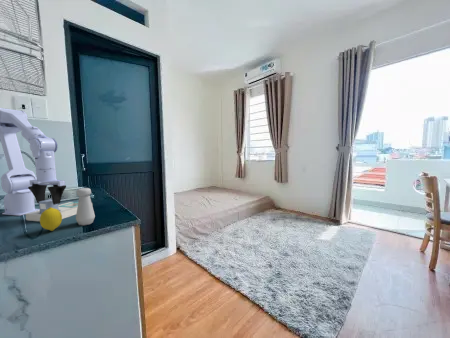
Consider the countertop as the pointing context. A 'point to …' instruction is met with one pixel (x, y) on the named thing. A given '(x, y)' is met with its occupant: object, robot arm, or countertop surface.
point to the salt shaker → (84, 207)
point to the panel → (64, 209)
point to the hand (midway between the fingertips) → (48, 203)
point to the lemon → (50, 219)
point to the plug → (47, 205)
